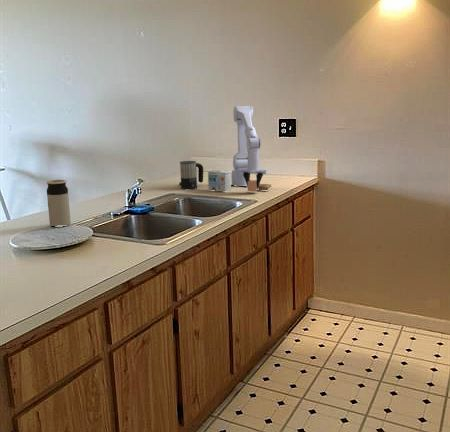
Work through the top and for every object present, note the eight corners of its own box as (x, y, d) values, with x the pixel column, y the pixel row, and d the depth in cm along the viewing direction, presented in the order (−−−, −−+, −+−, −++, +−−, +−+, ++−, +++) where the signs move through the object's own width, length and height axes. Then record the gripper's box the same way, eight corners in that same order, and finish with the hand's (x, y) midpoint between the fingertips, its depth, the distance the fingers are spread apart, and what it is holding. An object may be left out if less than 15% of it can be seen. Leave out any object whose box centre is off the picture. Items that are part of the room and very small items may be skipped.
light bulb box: (207, 191, 276) (207, 171, 274) (214, 189, 282) (213, 169, 280) (225, 192, 271) (225, 172, 269) (231, 190, 277) (231, 170, 275)
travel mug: (72, 222, 211) (69, 179, 207) (67, 227, 203) (64, 182, 199) (53, 223, 211) (49, 179, 207) (47, 228, 203) (43, 183, 199)
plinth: (252, 190, 276) (252, 186, 275) (257, 188, 283) (257, 183, 282) (267, 191, 273) (267, 186, 272) (271, 188, 280) (271, 184, 280)
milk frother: (189, 190, 278) (188, 163, 275) (168, 187, 288) (167, 161, 284) (206, 186, 289) (205, 160, 286) (185, 184, 299) (184, 158, 295)
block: (247, 190, 268) (247, 181, 267) (250, 189, 272) (250, 179, 271) (256, 191, 267) (256, 181, 265) (258, 189, 271) (258, 180, 269)
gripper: (237, 161, 264) (237, 187, 268) (264, 162, 260) (264, 189, 263) (241, 159, 271) (241, 185, 274) (268, 160, 266) (268, 186, 269)
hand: (253, 187), depth 269 cm, fingers closed on block, 4 cm apart
